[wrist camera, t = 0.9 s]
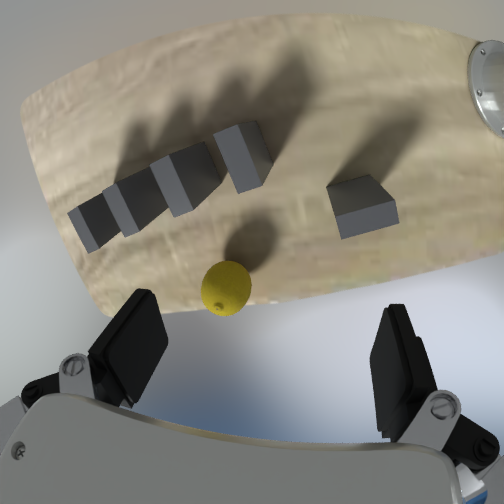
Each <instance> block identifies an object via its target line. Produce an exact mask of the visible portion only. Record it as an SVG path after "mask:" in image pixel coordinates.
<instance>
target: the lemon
mask: <svg viewBox="0 0 504 504" xmlns="http://www.w3.org/2000/svg"><path fill="white" fill-rule="evenodd" d="M251 286H252V284H251V278H250V275H249V273H248V271H247V270H246V269H245V268H244V267H243V266H242V265H241V264H239V263H237V262H234V261H222V262H219V263H217V264H215V265H213V266H212V267H211V268H210V269H209V270H208V271H207V273H206V275H205V277H204V279H203V281H202V286H201V297H202V301H203V303H204V305H205V306H206V308H207V309H208V310H210V311H211V312H212V313H214V314H217V315H220V316H229V315H233V314H235V313H237V312H238V311H240V309H241V308H243V306H244V305H245V304H246V302H247V300H248V298H249V296H250V293H251Z"/></svg>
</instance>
